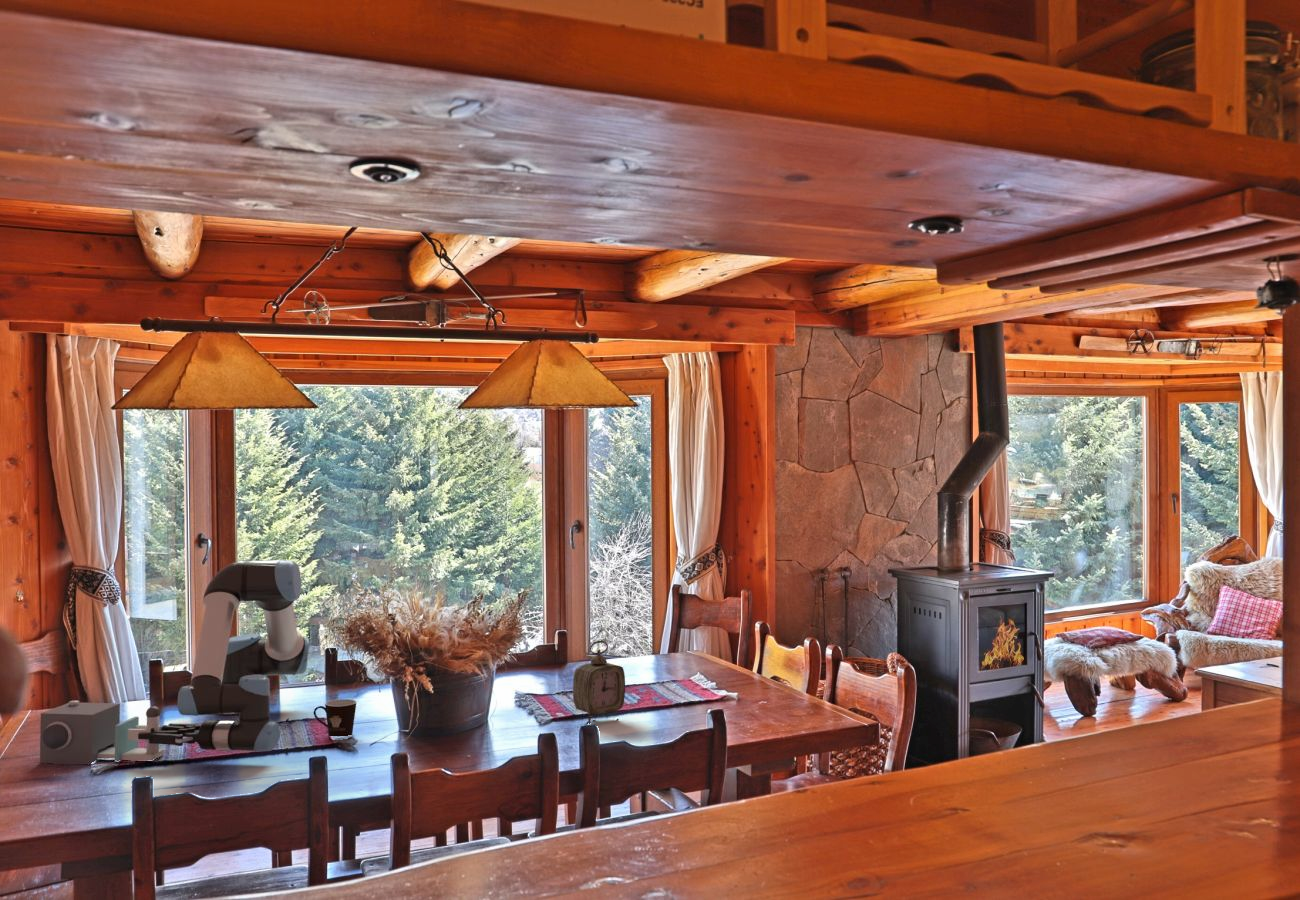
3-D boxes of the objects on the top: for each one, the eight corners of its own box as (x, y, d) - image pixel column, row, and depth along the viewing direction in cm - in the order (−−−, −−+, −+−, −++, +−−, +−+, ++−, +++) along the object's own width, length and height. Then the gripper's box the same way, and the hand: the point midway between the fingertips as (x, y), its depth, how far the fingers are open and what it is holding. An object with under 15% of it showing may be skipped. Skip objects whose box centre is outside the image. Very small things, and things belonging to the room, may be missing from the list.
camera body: (119, 751, 271) (119, 699, 271) (86, 767, 257) (87, 712, 257) (69, 750, 272) (70, 698, 272) (34, 765, 258) (35, 711, 258)
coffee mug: (362, 736, 288) (362, 701, 289) (339, 743, 281) (339, 707, 281) (334, 730, 294) (334, 696, 295) (310, 737, 287) (311, 702, 287)
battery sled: (167, 753, 269) (168, 702, 269) (149, 763, 260) (150, 710, 260) (99, 751, 270) (99, 700, 270) (78, 761, 261) (78, 709, 261)
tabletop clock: (587, 729, 299) (588, 645, 299) (569, 722, 306) (570, 641, 306) (624, 721, 308) (625, 640, 309) (606, 715, 315) (607, 636, 315)
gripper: (202, 758, 255) (114, 755, 257) (233, 740, 271) (149, 738, 273) (203, 728, 255) (114, 726, 257) (233, 713, 271) (150, 710, 273)
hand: (133, 732), depth 265 cm, fingers closed on battery sled, 3 cm apart
